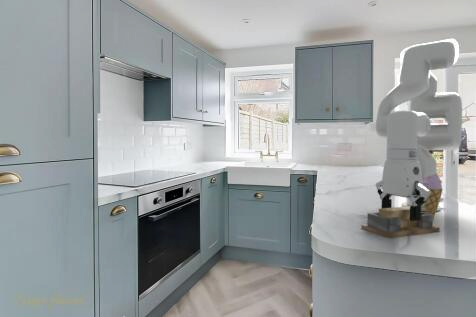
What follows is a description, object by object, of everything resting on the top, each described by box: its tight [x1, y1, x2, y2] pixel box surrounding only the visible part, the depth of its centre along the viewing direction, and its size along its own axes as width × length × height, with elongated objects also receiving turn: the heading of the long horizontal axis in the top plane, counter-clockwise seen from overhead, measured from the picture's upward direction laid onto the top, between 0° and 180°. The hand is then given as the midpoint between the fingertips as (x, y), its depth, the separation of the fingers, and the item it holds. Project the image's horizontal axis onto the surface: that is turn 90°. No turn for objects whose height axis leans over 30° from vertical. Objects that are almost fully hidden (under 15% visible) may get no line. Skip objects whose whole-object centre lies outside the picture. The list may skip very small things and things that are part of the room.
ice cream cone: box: [423, 172, 443, 219], centre depth 98 cm, size 7×6×15 cm
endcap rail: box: [360, 211, 441, 239], centre depth 87 cm, size 18×10×4 cm, turn 110°
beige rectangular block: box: [378, 206, 419, 228], centre depth 87 cm, size 12×4×5 cm, turn 110°
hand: (400, 216), depth 86 cm, fingers open, 9 cm apart
